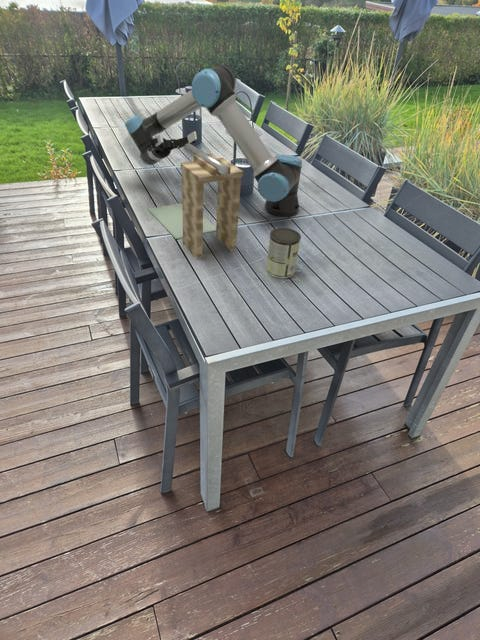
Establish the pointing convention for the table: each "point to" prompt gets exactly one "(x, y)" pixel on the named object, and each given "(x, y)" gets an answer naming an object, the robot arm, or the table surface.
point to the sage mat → (176, 220)
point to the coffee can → (282, 252)
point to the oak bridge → (193, 202)
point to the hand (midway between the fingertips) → (178, 136)
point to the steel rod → (206, 158)
